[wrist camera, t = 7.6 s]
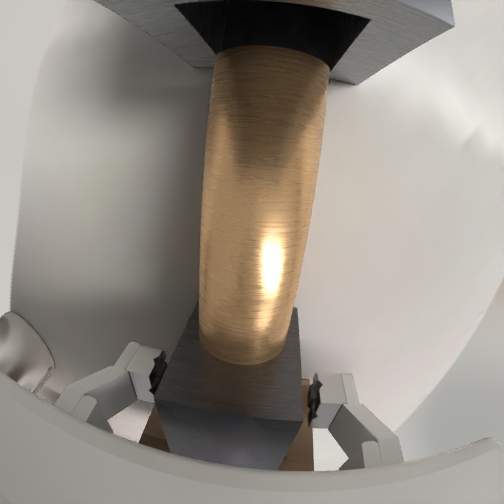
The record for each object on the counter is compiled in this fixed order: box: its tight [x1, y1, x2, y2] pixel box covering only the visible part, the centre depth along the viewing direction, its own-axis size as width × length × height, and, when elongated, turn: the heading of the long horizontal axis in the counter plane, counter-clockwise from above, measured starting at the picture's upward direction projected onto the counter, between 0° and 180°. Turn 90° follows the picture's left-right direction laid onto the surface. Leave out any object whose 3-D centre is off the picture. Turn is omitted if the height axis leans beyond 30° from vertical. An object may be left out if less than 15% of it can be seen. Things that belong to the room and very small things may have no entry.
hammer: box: [154, 45, 330, 470], centre depth 9 cm, size 17×4×6 cm, turn 174°
